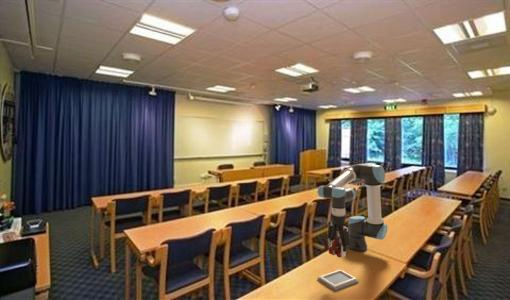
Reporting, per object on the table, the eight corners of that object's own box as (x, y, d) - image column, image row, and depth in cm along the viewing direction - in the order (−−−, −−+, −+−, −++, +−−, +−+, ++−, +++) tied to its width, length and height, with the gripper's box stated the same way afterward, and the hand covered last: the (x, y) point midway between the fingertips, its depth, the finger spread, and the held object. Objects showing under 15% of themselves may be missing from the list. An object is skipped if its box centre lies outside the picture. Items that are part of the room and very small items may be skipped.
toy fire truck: (326, 255, 154) (326, 237, 154) (339, 249, 162) (339, 232, 161) (336, 259, 149) (336, 241, 148) (349, 253, 156) (349, 236, 156)
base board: (339, 272, 166) (339, 268, 166) (358, 282, 154) (358, 278, 154) (317, 279, 158) (317, 275, 158) (335, 291, 145) (335, 287, 145)
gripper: (321, 211, 161) (320, 249, 162) (347, 220, 144) (347, 262, 145) (330, 209, 165) (329, 246, 166) (357, 218, 147) (356, 259, 148)
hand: (337, 253), depth 155 cm, fingers closed on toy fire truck, 7 cm apart
